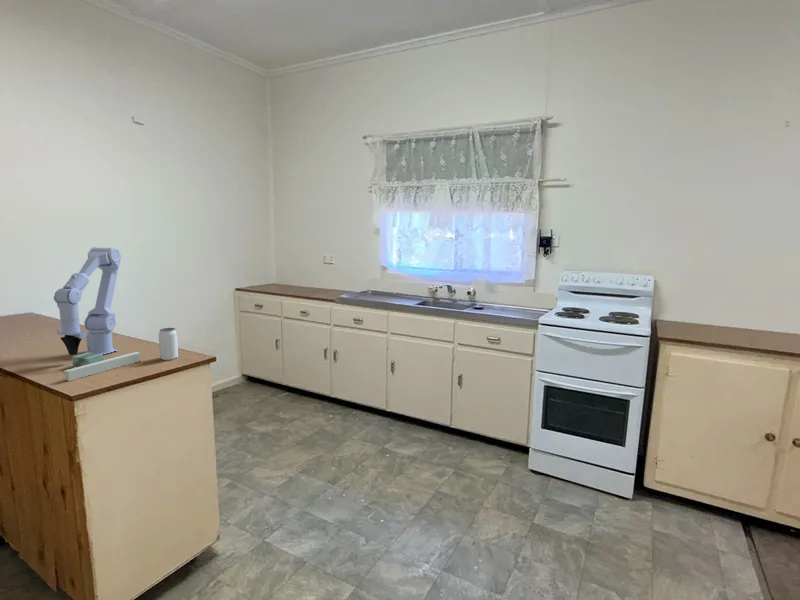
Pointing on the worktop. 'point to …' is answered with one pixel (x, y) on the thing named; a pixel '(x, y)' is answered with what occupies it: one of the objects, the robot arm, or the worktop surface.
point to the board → (101, 366)
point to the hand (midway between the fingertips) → (73, 354)
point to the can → (168, 343)
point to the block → (86, 359)
